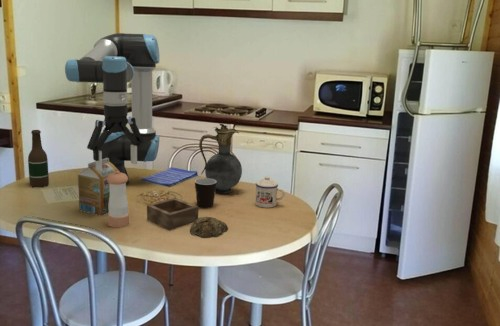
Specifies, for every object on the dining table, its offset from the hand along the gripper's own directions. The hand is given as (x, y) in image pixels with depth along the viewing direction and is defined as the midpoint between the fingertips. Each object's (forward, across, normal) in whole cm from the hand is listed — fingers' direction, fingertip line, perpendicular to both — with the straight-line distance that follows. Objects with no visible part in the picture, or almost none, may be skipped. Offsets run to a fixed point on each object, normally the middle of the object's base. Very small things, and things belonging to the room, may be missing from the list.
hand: (117, 166), depth 163 cm
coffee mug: (+21, +37, -5) cm, 43 cm away
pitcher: (+20, +53, +4) cm, 57 cm away
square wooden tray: (+21, +16, -10) cm, 28 cm away
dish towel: (+21, +49, +33) cm, 63 cm away
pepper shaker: (+21, 0, 0) cm, 21 cm away
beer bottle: (+20, -1, +59) cm, 63 cm away
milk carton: (+21, +3, +17) cm, 27 cm away
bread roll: (+21, +19, -25) cm, 38 cm away
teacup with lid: (+21, +56, -22) cm, 64 cm away
